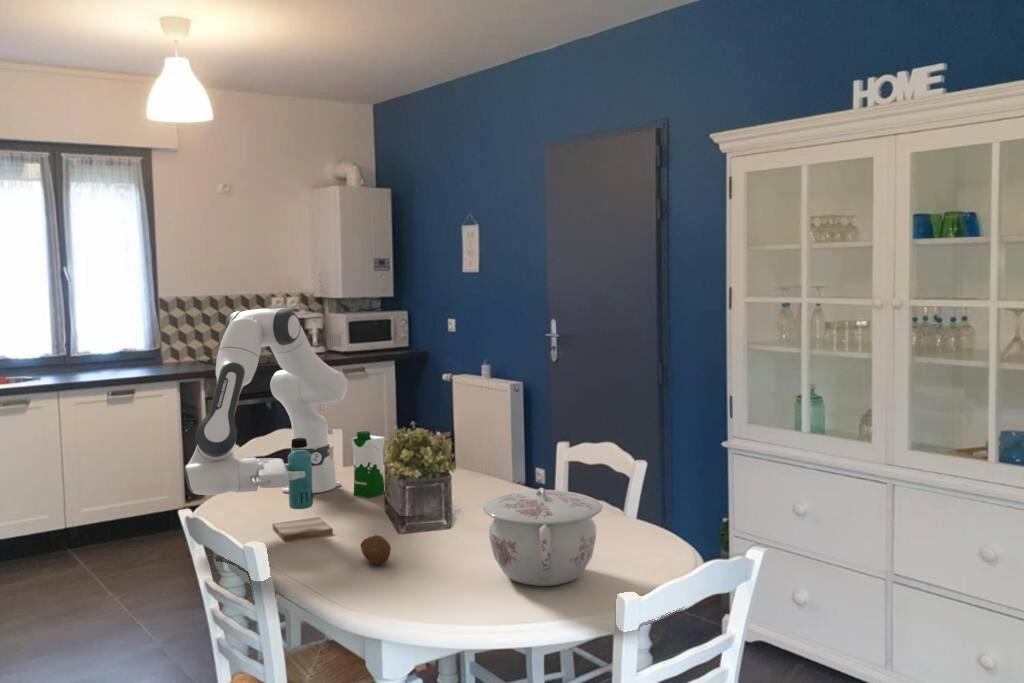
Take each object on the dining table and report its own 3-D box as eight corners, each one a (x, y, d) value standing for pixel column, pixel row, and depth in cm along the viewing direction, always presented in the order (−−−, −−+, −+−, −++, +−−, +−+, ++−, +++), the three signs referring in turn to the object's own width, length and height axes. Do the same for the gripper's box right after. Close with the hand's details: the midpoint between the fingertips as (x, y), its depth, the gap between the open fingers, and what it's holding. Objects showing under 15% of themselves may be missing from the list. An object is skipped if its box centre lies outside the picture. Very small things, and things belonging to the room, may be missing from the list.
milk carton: (349, 495, 282) (347, 432, 281) (368, 489, 290) (367, 427, 288) (370, 499, 278) (369, 435, 276) (389, 492, 285) (388, 430, 284)
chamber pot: (532, 549, 227) (532, 468, 225) (626, 572, 210) (625, 484, 208) (457, 581, 205) (455, 491, 204) (553, 609, 188) (553, 511, 186)
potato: (378, 554, 225) (378, 527, 224) (401, 566, 216) (400, 538, 215) (353, 560, 221) (353, 532, 220) (375, 572, 212) (374, 543, 211)
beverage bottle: (299, 516, 240) (297, 442, 238) (283, 512, 244) (281, 439, 242) (318, 510, 245) (316, 438, 243) (302, 506, 249) (300, 435, 247)
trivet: (272, 528, 248) (272, 523, 248) (319, 522, 254) (319, 516, 254) (284, 541, 236) (284, 535, 236) (332, 534, 242) (332, 528, 242)
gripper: (251, 471, 229) (307, 467, 234) (248, 455, 249) (299, 451, 253) (252, 495, 230) (307, 491, 234) (248, 478, 249) (300, 474, 253)
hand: (303, 470), depth 244 cm, fingers closed on beverage bottle, 6 cm apart
